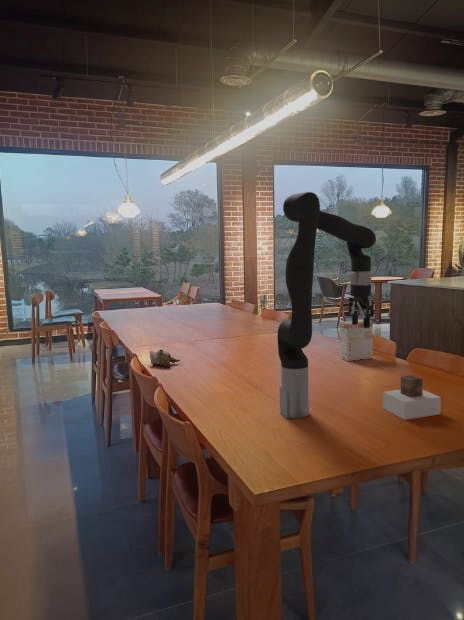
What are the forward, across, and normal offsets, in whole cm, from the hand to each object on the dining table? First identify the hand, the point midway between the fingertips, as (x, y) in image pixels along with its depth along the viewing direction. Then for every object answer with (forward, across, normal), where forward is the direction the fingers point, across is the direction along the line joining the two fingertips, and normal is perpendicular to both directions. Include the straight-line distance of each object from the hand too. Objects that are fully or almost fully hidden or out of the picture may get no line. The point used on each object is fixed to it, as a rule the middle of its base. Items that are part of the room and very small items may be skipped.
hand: (360, 326), depth 176 cm
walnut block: (+21, +21, +7) cm, 31 cm away
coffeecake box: (+27, -53, +28) cm, 66 cm away
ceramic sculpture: (+28, -78, -67) cm, 106 cm away
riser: (+27, +21, +7) cm, 35 cm away
